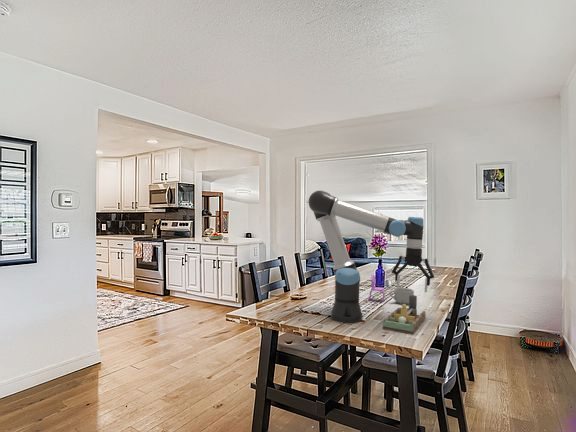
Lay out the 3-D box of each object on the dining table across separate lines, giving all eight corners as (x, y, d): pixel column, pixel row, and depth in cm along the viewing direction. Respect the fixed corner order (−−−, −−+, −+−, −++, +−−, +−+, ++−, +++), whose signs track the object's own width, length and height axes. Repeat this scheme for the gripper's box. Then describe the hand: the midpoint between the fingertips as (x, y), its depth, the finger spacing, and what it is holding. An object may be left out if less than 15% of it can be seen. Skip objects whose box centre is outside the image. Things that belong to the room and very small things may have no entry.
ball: (405, 326, 167) (403, 325, 165) (397, 322, 169) (396, 321, 166) (408, 319, 168) (406, 318, 165) (401, 315, 170) (399, 314, 167)
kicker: (413, 325, 167) (413, 305, 167) (393, 321, 171) (393, 302, 171) (422, 314, 185) (423, 296, 185) (404, 311, 190) (404, 294, 190)
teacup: (411, 301, 216) (411, 287, 216) (415, 306, 206) (416, 291, 206) (387, 300, 218) (387, 286, 218) (390, 305, 207) (390, 290, 207)
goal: (413, 331, 157) (413, 325, 157) (382, 326, 163) (383, 320, 163) (416, 326, 163) (417, 321, 163) (387, 321, 170) (387, 316, 170)
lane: (413, 334, 157) (413, 324, 157) (382, 328, 163) (383, 319, 163) (425, 318, 181) (425, 309, 181) (398, 314, 188) (398, 305, 188)
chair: (383, 303, 211) (383, 276, 211) (367, 301, 214) (368, 275, 214) (384, 300, 219) (385, 274, 219) (369, 298, 222) (370, 273, 222)
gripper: (441, 249, 182) (439, 292, 182) (391, 244, 195) (388, 284, 195) (439, 250, 176) (436, 295, 176) (387, 245, 188) (384, 287, 189)
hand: (411, 289), depth 186 cm, fingers open, 13 cm apart
